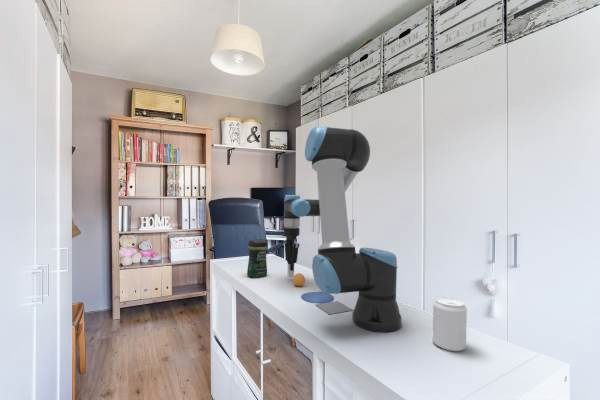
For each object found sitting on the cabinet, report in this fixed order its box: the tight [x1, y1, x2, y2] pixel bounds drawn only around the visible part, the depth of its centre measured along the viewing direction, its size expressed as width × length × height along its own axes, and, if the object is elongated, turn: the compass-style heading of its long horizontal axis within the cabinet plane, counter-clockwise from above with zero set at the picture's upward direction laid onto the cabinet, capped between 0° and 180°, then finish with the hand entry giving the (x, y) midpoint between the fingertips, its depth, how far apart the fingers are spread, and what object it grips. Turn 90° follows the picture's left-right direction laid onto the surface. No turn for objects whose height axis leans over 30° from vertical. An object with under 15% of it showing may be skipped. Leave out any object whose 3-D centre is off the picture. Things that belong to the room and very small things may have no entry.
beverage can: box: [432, 296, 468, 352], centre depth 80 cm, size 8×8×12 cm
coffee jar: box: [246, 238, 269, 279], centre depth 148 cm, size 10×8×19 cm
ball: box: [292, 273, 306, 287], centre depth 133 cm, size 6×6×6 cm
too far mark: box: [314, 300, 354, 316], centre depth 107 cm, size 10×10×1 cm
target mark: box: [300, 291, 335, 304], centre depth 118 cm, size 13×13×1 cm
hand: (290, 276), depth 141 cm, fingers closed
